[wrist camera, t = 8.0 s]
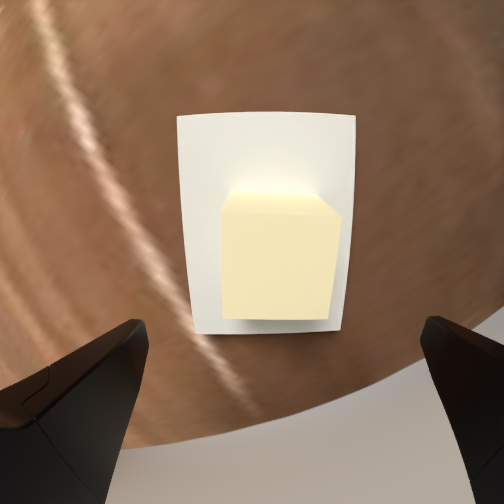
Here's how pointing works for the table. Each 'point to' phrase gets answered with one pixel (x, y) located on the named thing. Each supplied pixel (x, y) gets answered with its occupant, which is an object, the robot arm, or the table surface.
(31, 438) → the robot arm
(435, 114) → the table surface
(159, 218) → the table surface
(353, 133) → the notebook
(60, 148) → the table surface
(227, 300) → the sticky note cube
